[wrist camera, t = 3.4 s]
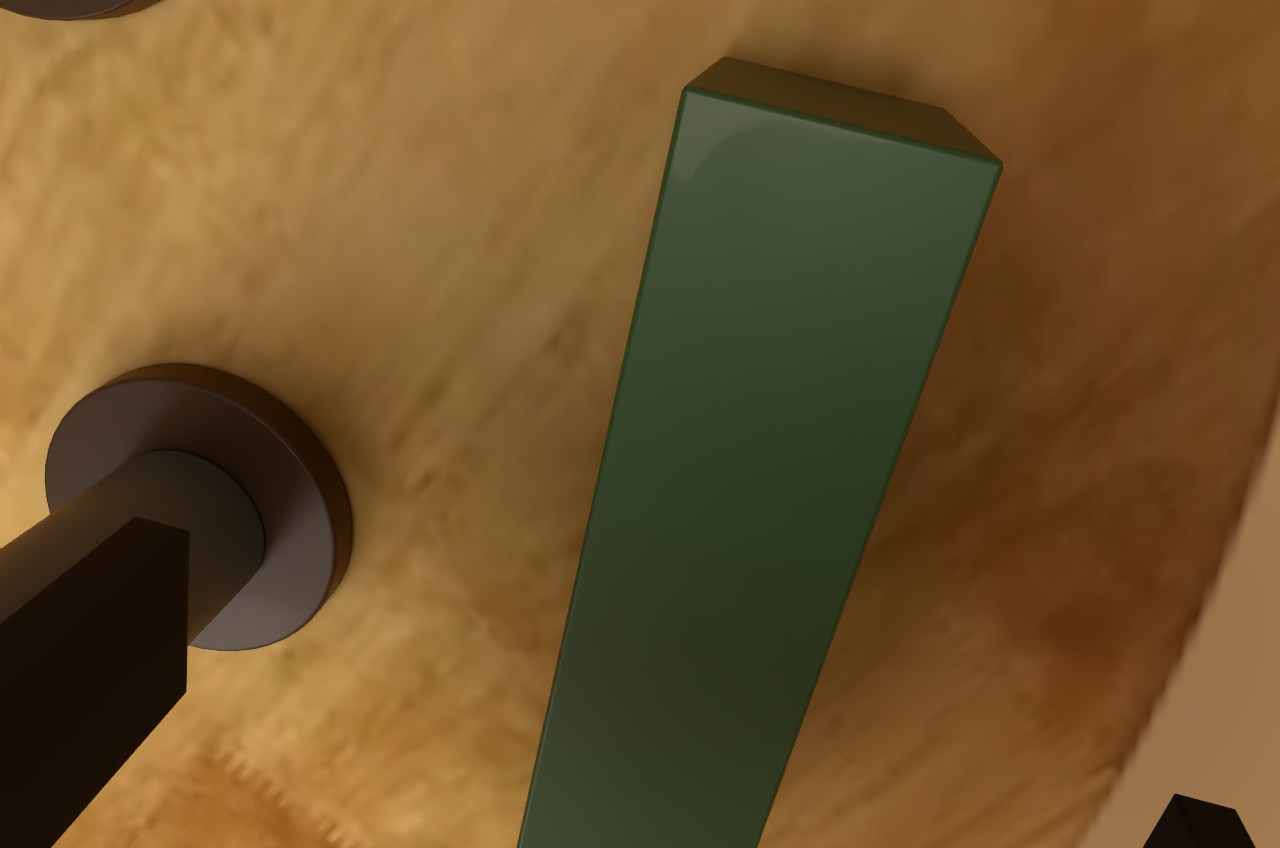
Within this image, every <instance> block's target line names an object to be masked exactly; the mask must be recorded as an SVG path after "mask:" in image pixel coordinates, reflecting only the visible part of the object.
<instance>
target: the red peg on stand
mask: <svg viewBox="0 0 1280 848" xmlns="http://www.w3.org/2000/svg"><path fill="white" fill-rule="evenodd" d="M158 1H160V0H0V8H3V9H6V10H9V11H12V12H15V13H17V14H20V15H24V16H29V17H34V18H39V19H45V20H63V21H73V20H96V19H105V18H114V17H120V16H123V15H127V14H130V13H134V12H137V11H140V10H142V9H144V8H146V7H148V6H150V5H152V4H154V3H156V2H158Z"/></svg>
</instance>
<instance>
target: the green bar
mask: <svg viewBox="0 0 1280 848" xmlns="http://www.w3.org/2000/svg"><path fill="white" fill-rule="evenodd" d="M1002 170H1003V162H1002V161H1001V160H999V159H998V158H997V157H996V156H995V155H994V154H993V153H992V152H991V151H990V150H989V149H988V148H986V147H985V146H984V145H983V144H982V143H981V142H980V141H979V140H978V139H977V138H976V137H974V136H973V135H972V134H971V133H970V132H969V131H968V130H967V129H966V128H965V127H964V126H963V125H961V124H960V123H959V122H958V121H957V120H956V119H955V118H954V117H953V116H952V115H951V114H949V113H948V112H947V111H946V110H945V109H943V108H939V107H935V106H931V105H926V104H922V103H918V102H914V101H910V100H905V99H901V98H897V97H893V96H889V95H884V94H880V93H876V92H872V91H868V90H863V89H859V88H855V87H851V86H847V85H842V84H838V83H834V82H830V81H826V80H821V79H817V78H813V77H809V76H805V75H800V74H796V73H792V72H788V71H784V70H779V69H775V68H771V67H767V66H763V65H758V64H754V63H750V62H746V61H742V60H737V59H733V58H729V57H722V58H721V59H719V60H718V61H717V62H716V63H714V64H713V65H712V66H710V67H709V68H708V69H707V70H705V71H704V72H703V73H701V74H700V75H699V76H697V77H696V78H695V79H694V80H692V81H691V82H690V83H688V84H687V85H686V86H685V87H684V88H683V90H682V92H681V97H680V101H679V106H678V111H677V115H676V120H675V124H674V129H673V134H672V138H671V143H670V147H669V152H668V156H667V161H666V166H665V170H664V175H663V179H662V184H661V189H660V193H659V198H658V202H657V207H656V211H655V216H654V221H653V225H652V230H651V234H650V239H649V243H648V248H647V253H646V257H645V262H644V266H643V271H642V276H641V280H640V285H639V289H638V294H637V298H636V303H635V308H634V312H633V317H632V321H631V326H630V331H629V335H628V340H627V344H626V349H625V353H624V358H623V363H622V367H621V372H620V376H619V381H618V386H617V390H616V395H615V399H614V404H613V408H612V413H611V418H610V422H609V427H608V431H607V436H606V440H605V445H604V450H603V454H602V459H601V463H600V468H599V473H598V477H597V482H596V486H595V491H594V495H593V500H592V505H591V509H590V514H589V518H588V523H587V528H586V532H585V537H584V541H583V546H582V550H581V555H580V560H579V564H578V569H577V573H576V578H575V582H574V587H573V592H572V596H571V601H570V605H569V610H568V615H567V619H566V624H565V628H564V633H563V637H562V642H561V647H560V651H559V656H558V660H557V665H556V670H555V674H554V679H553V683H552V688H551V692H550V697H549V702H548V706H547V711H546V715H545V720H544V724H543V729H542V734H541V738H540V743H539V747H538V752H537V757H536V761H535V766H534V770H533V775H532V779H531V784H530V789H529V793H528V798H527V802H526V807H525V812H524V816H523V821H522V825H521V830H520V834H519V839H518V844H517V848H757V847H758V844H759V841H760V838H761V836H762V833H763V830H764V827H765V824H766V822H767V819H768V816H769V813H770V811H771V808H772V805H773V802H774V800H775V797H776V794H777V791H778V789H779V786H780V783H781V780H782V778H783V775H784V772H785V769H786V766H787V764H788V761H789V758H790V755H791V753H792V750H793V747H794V744H795V742H796V739H797V736H798V733H799V731H800V728H801V725H802V722H803V719H804V717H805V714H806V711H807V708H808V706H809V703H810V700H811V697H812V695H813V692H814V689H815V686H816V684H817V681H818V678H819V675H820V672H821V670H822V667H823V664H824V661H825V659H826V656H827V653H828V650H829V648H830V645H831V642H832V639H833V637H834V634H835V631H836V628H837V626H838V623H839V620H840V617H841V614H842V612H843V609H844V606H845V603H846V601H847V598H848V595H849V592H850V590H851V587H852V584H853V581H854V579H855V576H856V573H857V570H858V567H859V565H860V562H861V559H862V556H863V554H864V551H865V548H866V545H867V543H868V540H869V537H870V534H871V532H872V529H873V526H874V523H875V521H876V518H877V515H878V512H879V509H880V507H881V504H882V501H883V498H884V496H885V493H886V490H887V487H888V485H889V482H890V479H891V476H892V474H893V471H894V468H895V465H896V462H897V460H898V457H899V454H900V451H901V449H902V446H903V443H904V440H905V438H906V435H907V432H908V429H909V427H910V424H911V421H912V418H913V416H914V413H915V410H916V407H917V404H918V402H919V399H920V396H921V393H922V391H923V388H924V385H925V382H926V380H927V377H928V374H929V371H930V369H931V366H932V363H933V360H934V357H935V355H936V352H937V349H938V346H939V344H940V341H941V338H942V335H943V333H944V330H945V327H946V324H947V322H948V319H949V316H950V313H951V310H952V308H953V305H954V302H955V299H956V297H957V294H958V291H959V288H960V286H961V283H962V280H963V277H964V275H965V272H966V269H967V266H968V264H969V261H970V258H971V255H972V252H973V250H974V247H975V244H976V241H977V239H978V236H979V233H980V230H981V228H982V225H983V222H984V219H985V217H986V214H987V211H988V208H989V205H990V203H991V200H992V197H993V194H994V192H995V189H996V186H997V183H998V181H999V178H1000V175H1001V172H1002Z"/></svg>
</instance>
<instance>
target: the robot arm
mask: <svg viewBox="0 0 1280 848" xmlns="http://www.w3.org/2000/svg"><path fill="white" fill-rule="evenodd" d="M189 538H190V531H188V530H184V529H181V528H177V527H173V526H169V525H166V524H162V523H158V522H154V521H151V520H147V519H143V518H139V517H136V516H135V517H133V518H132V519H131V520H130V521H128V522H127V523H126V524H125V525H123V526H122V527H121V528H120V529H118V530H117V531H116V532H115V533H113V534H112V535H111V536H110V537H108V538H107V539H106V540H105V541H103V542H102V543H101V544H100V545H98V546H97V547H96V548H95V549H93V550H92V551H91V552H90V553H88V554H87V555H86V556H85V557H83V558H82V559H81V560H80V561H78V562H77V563H76V564H75V565H73V566H72V567H71V568H70V569H68V570H67V571H66V572H64V573H63V574H62V575H61V576H59V577H58V578H57V579H56V580H54V581H53V582H52V583H51V584H49V585H48V586H47V587H46V588H44V589H43V590H42V591H41V592H39V593H38V594H37V595H36V596H34V597H33V598H32V599H31V600H29V601H28V602H27V603H26V604H24V605H23V606H22V607H21V608H19V609H18V610H17V611H16V612H14V613H13V614H12V615H11V616H9V617H8V618H7V619H6V620H4V621H3V622H2V623H1V624H0V848H51V847H52V846H53V845H54V844H55V842H56V841H57V840H58V839H59V838H60V837H61V836H62V834H63V833H64V832H65V831H66V830H67V829H68V827H69V826H70V825H71V824H72V823H73V822H74V821H75V819H76V818H77V817H78V816H79V815H80V814H81V812H82V811H83V810H84V809H85V808H86V807H87V806H88V804H89V803H90V802H91V801H92V800H93V799H94V798H95V796H96V795H97V794H98V793H99V792H100V791H101V789H102V788H103V787H104V786H105V785H106V784H107V783H108V781H109V780H110V779H111V778H112V777H113V776H114V775H115V773H116V772H117V771H118V770H119V769H120V768H121V766H122V765H123V764H124V763H125V762H126V761H127V760H128V758H129V757H130V756H131V755H132V754H133V753H134V752H135V750H136V749H137V748H138V747H139V746H140V745H141V743H142V742H143V741H144V740H145V739H146V738H147V737H148V735H149V734H150V733H151V732H152V731H153V730H154V728H155V727H156V726H157V725H158V724H159V723H160V722H161V720H162V719H163V718H164V717H165V716H166V715H167V714H168V712H169V711H170V710H171V709H172V708H173V707H174V705H175V704H176V703H177V702H178V701H179V700H180V699H181V697H182V696H183V695H184V694H185V693H186V686H187V637H188V587H189ZM1143 848H1255V846H1254V844H1253V842H1252V840H1251V839H1250V836H1249V834H1248V833H1247V831H1246V829H1245V827H1244V825H1243V823H1242V821H1241V819H1240V818H1239V816H1238V814H1237V812H1236V810H1235V809H1232V808H1227V807H1224V806H1220V805H1217V804H1212V803H1208V802H1205V801H1201V800H1198V799H1194V798H1190V797H1186V796H1183V795H1179V794H1174V796H1173V797H1172V799H1171V801H1170V803H1169V805H1168V806H1167V808H1166V809H1165V811H1164V813H1163V815H1162V816H1161V818H1160V819H1159V821H1158V823H1157V825H1156V826H1155V828H1154V830H1153V831H1152V833H1151V835H1150V837H1149V838H1148V840H1147V841H1146V843H1145V845H1144V847H1143Z"/></svg>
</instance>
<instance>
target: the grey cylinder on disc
mask: <svg viewBox="0 0 1280 848" xmlns="http://www.w3.org/2000/svg"><path fill="white" fill-rule="evenodd" d="M45 488H46V498H47V503H48V507H49V511H50V515H49V516H47V517H46V518H45V519H43V520H42V521H40V522H39V523H37V524H36V525H34V526H33V527H32V528H30V529H29V530H27V531H26V532H24V533H23V534H21V535H20V536H19V537H17V538H16V539H14V540H13V541H11V542H10V543H8V544H7V545H6V546H4V547H3V548H1V549H0V624H1V623H2V622H3V621H4V620H6V619H7V618H8V617H9V616H11V615H12V614H13V613H14V612H16V611H17V610H18V609H19V608H21V607H22V606H23V605H24V604H26V603H27V602H28V601H29V600H31V599H32V598H33V597H34V596H36V595H37V594H38V593H39V592H41V591H42V590H43V589H44V588H46V587H47V586H48V585H49V584H51V583H52V582H53V581H54V580H56V579H57V578H58V577H59V576H61V575H62V574H63V573H64V572H66V571H67V570H68V569H70V568H71V567H72V566H73V565H75V564H76V563H77V562H78V561H80V560H81V559H82V558H83V557H85V556H86V555H87V554H88V553H90V552H91V551H92V550H93V549H95V548H96V547H97V546H98V545H100V544H101V543H102V542H103V541H105V540H106V539H107V538H108V537H110V536H111V535H112V534H113V533H115V532H116V531H117V530H118V529H120V528H121V527H122V526H123V525H125V524H126V523H127V522H128V521H130V520H131V519H132V518H133V517H135V516H136V517H139V518H143V519H147V520H151V521H154V522H158V523H162V524H166V525H169V526H173V527H177V528H181V529H184V530H188V531H190V538H189V587H188V637H187V646H188V645H190V646H194V647H198V648H202V649H210V650H218V651H241V650H250V649H256V648H260V647H264V646H268V645H271V644H273V643H276V642H278V641H281V640H283V639H286V638H287V637H289V636H291V635H292V634H294V633H296V632H297V631H299V630H300V629H301V628H302V627H304V626H305V625H306V624H307V623H308V622H309V621H311V620H312V618H313V617H314V616H315V615H316V614H317V612H318V611H319V610H320V609H321V608H322V606H323V605H324V604H325V602H326V601H327V600H328V599H329V597H330V596H331V595H332V594H333V592H334V591H335V589H336V588H337V586H338V584H339V582H340V581H341V579H342V577H343V574H344V572H345V569H346V566H347V564H348V559H349V554H350V549H351V534H352V527H351V517H350V509H349V505H348V501H347V497H346V493H345V490H344V488H343V485H342V482H341V480H340V477H339V475H338V473H337V471H336V469H335V467H334V465H333V463H332V461H331V459H330V458H329V456H328V455H327V453H326V452H325V450H324V449H323V447H322V446H321V444H320V443H319V441H318V440H317V439H316V438H315V436H314V435H313V434H312V433H311V432H310V431H309V429H308V428H307V427H306V426H305V425H304V424H303V423H302V422H301V421H300V420H299V419H298V418H297V417H296V416H295V415H294V414H293V413H292V412H291V411H290V410H288V409H287V408H286V407H284V406H283V405H282V404H281V403H279V402H278V401H277V400H275V399H274V398H273V397H271V396H270V395H268V394H266V393H265V392H263V391H261V390H260V389H258V388H257V387H255V386H253V385H251V384H249V383H247V382H245V381H242V380H240V379H238V378H236V377H233V376H231V375H228V374H225V373H222V372H219V371H216V370H211V369H207V368H202V367H197V366H187V365H176V364H175V365H156V366H150V367H145V368H140V369H137V370H134V371H131V372H128V373H126V374H123V375H121V376H119V377H117V378H116V379H114V380H112V381H110V382H108V383H107V384H105V385H103V386H101V387H100V388H98V389H96V390H94V391H92V392H91V393H89V394H87V395H86V396H84V397H83V398H82V399H81V400H80V401H78V402H77V403H76V404H75V405H74V406H73V407H72V408H71V409H70V410H69V411H68V413H67V414H66V415H65V416H64V417H63V419H62V421H61V422H60V424H59V426H58V427H57V429H56V431H55V433H54V435H53V438H52V441H51V443H50V446H49V449H48V454H47V459H46V464H45Z"/></svg>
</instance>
